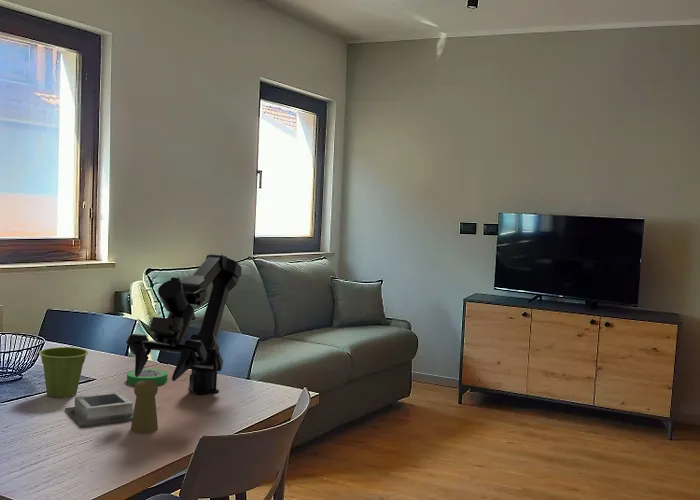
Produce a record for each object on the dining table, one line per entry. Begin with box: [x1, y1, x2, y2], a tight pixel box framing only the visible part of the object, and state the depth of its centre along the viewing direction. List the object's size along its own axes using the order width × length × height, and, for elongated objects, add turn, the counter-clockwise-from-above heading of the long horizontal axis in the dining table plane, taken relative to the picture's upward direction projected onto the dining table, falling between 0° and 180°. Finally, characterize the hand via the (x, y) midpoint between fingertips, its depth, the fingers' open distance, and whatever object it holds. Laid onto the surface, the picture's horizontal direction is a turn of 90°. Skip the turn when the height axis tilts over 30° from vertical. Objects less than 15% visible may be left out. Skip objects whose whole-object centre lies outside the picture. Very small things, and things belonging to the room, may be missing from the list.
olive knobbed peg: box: [130, 380, 159, 434], centre depth 158 cm, size 6×6×11 cm
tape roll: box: [126, 368, 168, 386], centre depth 198 cm, size 11×11×3 cm
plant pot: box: [38, 346, 89, 399], centre depth 181 cm, size 12×12×11 cm
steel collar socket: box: [64, 391, 134, 428], centre depth 166 cm, size 14×14×4 cm
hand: (154, 378), depth 161 cm, fingers open, 9 cm apart
